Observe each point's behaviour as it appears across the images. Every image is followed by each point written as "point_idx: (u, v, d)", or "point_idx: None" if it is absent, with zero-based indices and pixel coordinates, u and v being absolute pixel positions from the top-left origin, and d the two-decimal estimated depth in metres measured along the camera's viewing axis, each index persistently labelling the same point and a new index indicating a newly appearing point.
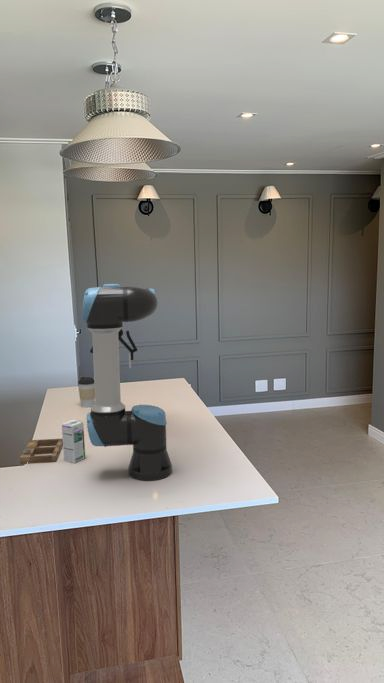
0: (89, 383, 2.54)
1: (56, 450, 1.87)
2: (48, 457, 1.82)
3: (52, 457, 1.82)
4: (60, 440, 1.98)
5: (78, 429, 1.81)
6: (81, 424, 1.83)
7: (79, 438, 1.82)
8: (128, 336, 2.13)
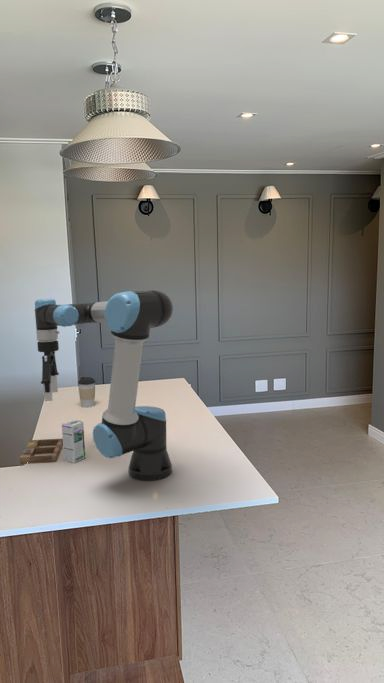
0: (89, 383, 2.54)
1: (56, 450, 1.87)
2: (48, 457, 1.82)
3: (52, 457, 1.82)
4: (60, 440, 1.98)
5: (78, 429, 1.81)
6: (81, 424, 1.83)
7: (79, 438, 1.82)
8: None
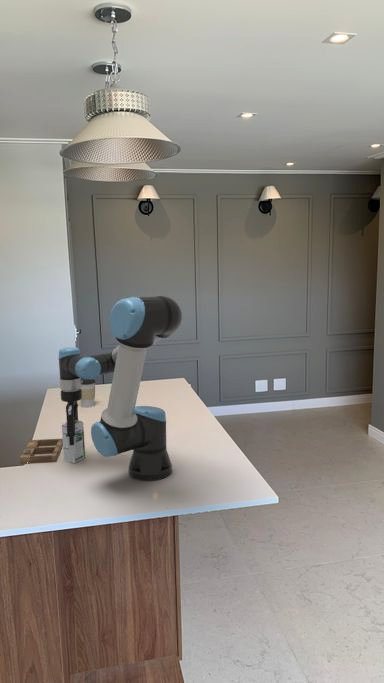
0: (89, 383, 2.54)
1: (56, 450, 1.87)
2: (48, 457, 1.82)
3: (52, 457, 1.82)
4: (60, 440, 1.98)
5: (78, 429, 1.81)
6: (81, 424, 1.83)
7: (79, 438, 1.82)
8: (66, 415, 1.76)
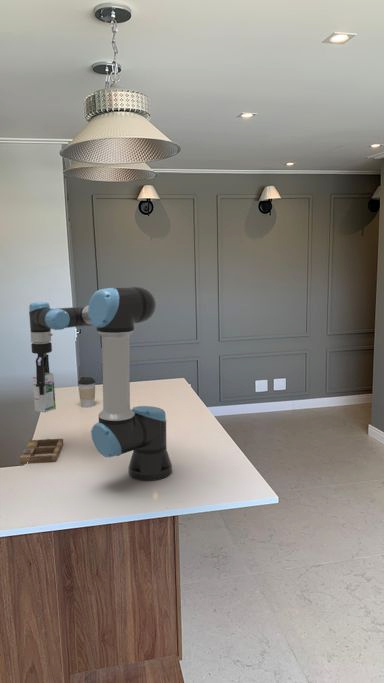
0: (89, 383, 2.54)
1: (56, 450, 1.87)
2: (48, 457, 1.82)
3: (52, 457, 1.82)
4: (60, 440, 1.98)
5: (48, 380, 1.90)
6: (51, 375, 1.91)
7: (49, 389, 1.91)
8: None
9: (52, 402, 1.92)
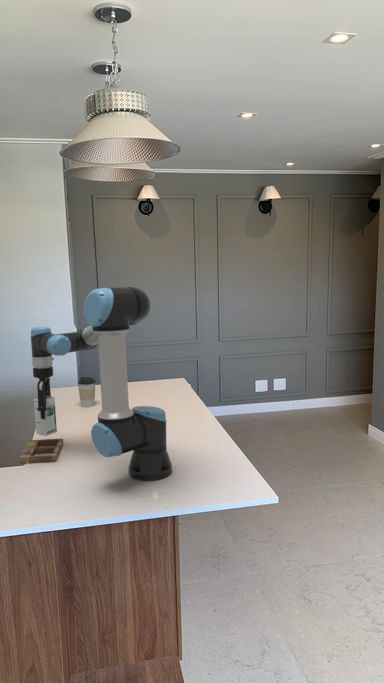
0: (89, 383, 2.54)
1: (56, 450, 1.87)
2: (48, 457, 1.82)
3: (52, 457, 1.82)
4: (60, 440, 1.98)
5: (49, 404, 1.91)
6: (52, 399, 1.93)
7: (50, 412, 1.92)
8: None
9: (53, 425, 1.94)
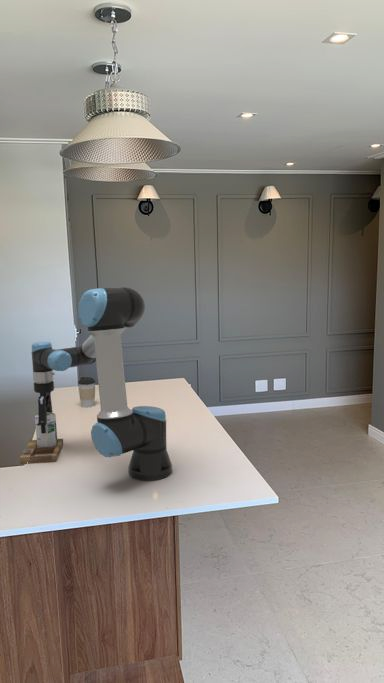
0: (89, 383, 2.54)
1: (56, 450, 1.87)
2: (48, 457, 1.82)
3: (52, 457, 1.82)
4: (60, 440, 1.98)
5: (50, 421, 1.92)
6: (53, 415, 1.94)
7: (51, 429, 1.93)
8: None
9: (54, 442, 1.95)
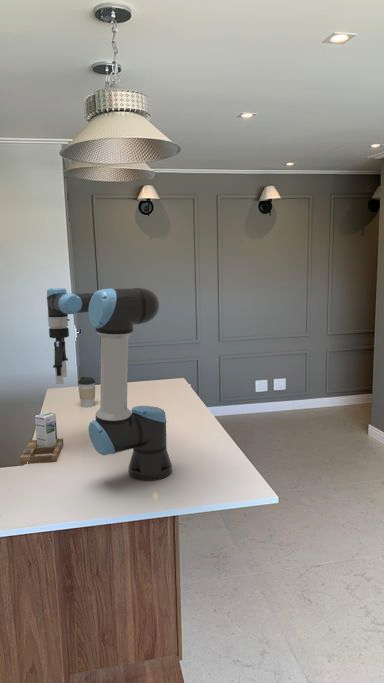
0: (89, 383, 2.54)
1: (56, 450, 1.87)
2: (48, 457, 1.82)
3: (52, 457, 1.82)
4: (60, 440, 1.98)
5: (50, 421, 1.92)
6: (53, 415, 1.94)
7: (51, 429, 1.93)
8: (54, 348, 1.88)
9: (54, 442, 1.95)
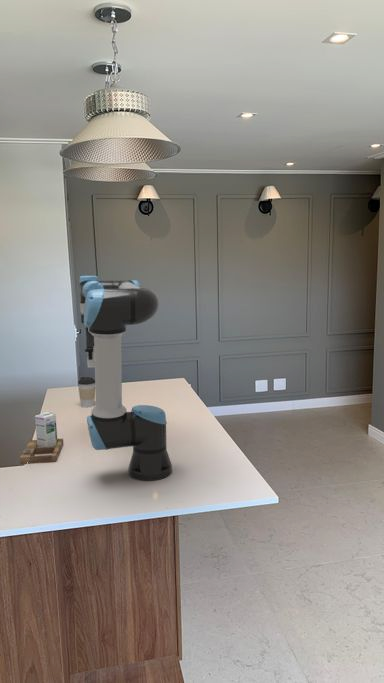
0: (89, 383, 2.54)
1: (56, 450, 1.87)
2: (48, 457, 1.82)
3: (52, 457, 1.82)
4: (60, 440, 1.98)
5: (50, 421, 1.92)
6: (53, 415, 1.94)
7: (51, 429, 1.93)
8: None
9: (54, 442, 1.95)
